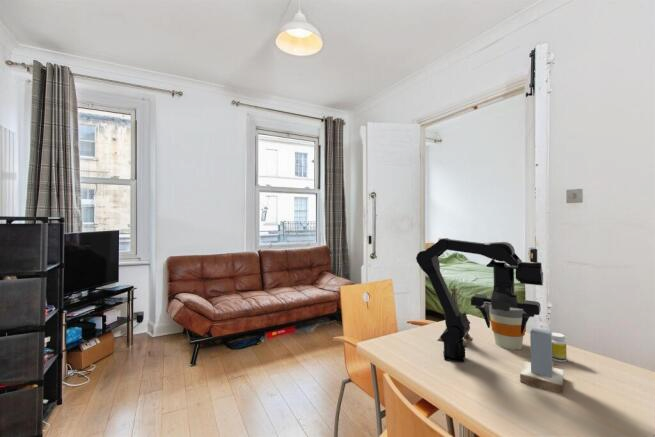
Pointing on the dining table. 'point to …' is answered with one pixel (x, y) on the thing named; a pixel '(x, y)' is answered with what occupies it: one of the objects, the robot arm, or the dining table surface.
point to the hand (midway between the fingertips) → (504, 330)
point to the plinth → (542, 378)
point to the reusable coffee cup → (507, 327)
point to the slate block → (541, 352)
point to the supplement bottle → (558, 347)
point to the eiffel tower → (454, 297)
